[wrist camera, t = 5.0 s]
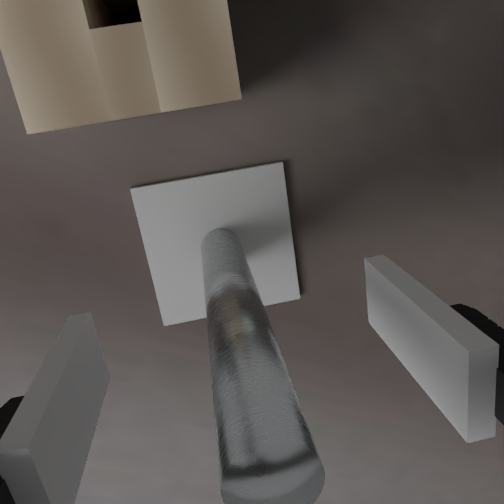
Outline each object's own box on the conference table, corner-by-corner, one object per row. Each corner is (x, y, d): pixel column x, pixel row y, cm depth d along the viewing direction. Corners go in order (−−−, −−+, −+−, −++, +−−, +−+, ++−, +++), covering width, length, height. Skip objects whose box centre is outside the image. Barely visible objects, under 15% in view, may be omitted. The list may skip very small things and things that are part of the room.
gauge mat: (164, 322, 26) (164, 326, 25) (130, 187, 23) (129, 189, 23) (298, 295, 26) (300, 298, 26) (281, 161, 24) (282, 162, 23)
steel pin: (204, 269, 25) (230, 534, 10) (197, 232, 24) (212, 454, 9) (243, 262, 25) (329, 510, 10) (237, 224, 24) (319, 430, 9)
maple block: (82, 123, 22) (27, 134, 14) (38, -42, 19) (-58, -134, 12) (223, 100, 22) (241, 99, 15) (196, -63, 20) (202, -164, 12)
